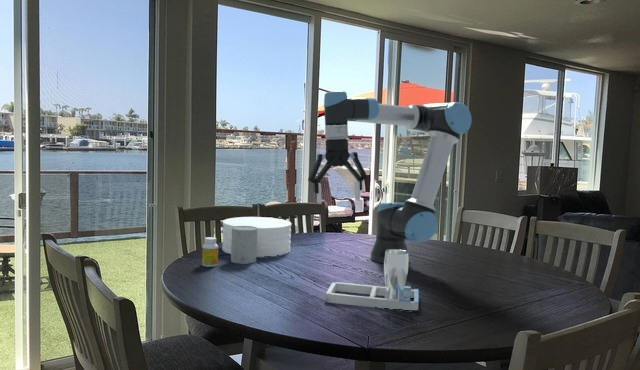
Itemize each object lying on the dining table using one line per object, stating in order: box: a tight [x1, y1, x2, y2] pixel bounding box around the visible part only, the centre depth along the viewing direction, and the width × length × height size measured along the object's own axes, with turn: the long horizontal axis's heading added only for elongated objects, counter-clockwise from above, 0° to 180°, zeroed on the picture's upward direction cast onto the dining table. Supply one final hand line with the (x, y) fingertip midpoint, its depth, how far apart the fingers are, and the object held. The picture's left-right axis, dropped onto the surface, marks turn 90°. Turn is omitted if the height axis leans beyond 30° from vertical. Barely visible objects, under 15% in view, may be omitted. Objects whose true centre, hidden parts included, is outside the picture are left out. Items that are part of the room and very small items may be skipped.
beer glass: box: [383, 249, 409, 300], centre depth 148 cm, size 7×7×15 cm
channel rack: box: [324, 281, 419, 311], centre depth 149 cm, size 26×13×2 cm, turn 79°
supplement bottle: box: [201, 236, 219, 268], centre depth 180 cm, size 5×5×10 cm
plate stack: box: [221, 216, 292, 258], centre depth 210 cm, size 28×28×12 cm
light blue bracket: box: [399, 285, 420, 305], centre depth 147 cm, size 5×13×3 cm, turn 169°
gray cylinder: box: [230, 226, 258, 265], centre depth 189 cm, size 10×10×12 cm
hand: (338, 201), depth 172 cm, fingers open, 13 cm apart
